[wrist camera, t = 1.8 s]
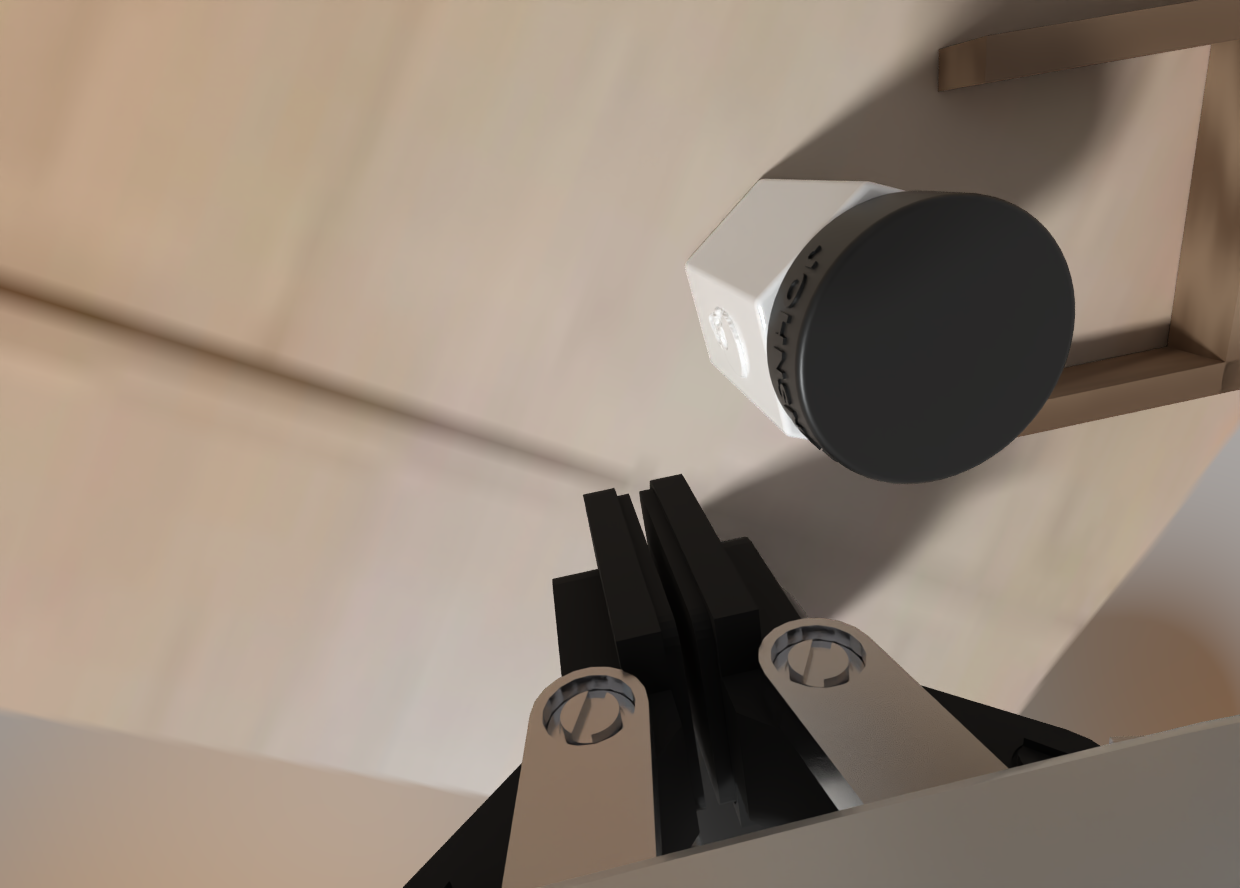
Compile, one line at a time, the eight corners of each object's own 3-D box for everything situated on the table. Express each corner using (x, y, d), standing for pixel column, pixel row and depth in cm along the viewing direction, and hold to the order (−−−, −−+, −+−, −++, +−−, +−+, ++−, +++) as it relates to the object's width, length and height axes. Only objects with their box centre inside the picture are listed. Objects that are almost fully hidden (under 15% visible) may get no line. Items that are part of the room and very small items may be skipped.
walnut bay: (938, 49, 27) (986, 35, 25) (1251, -3, 28) (1331, -23, 26) (933, 424, 33) (971, 446, 31) (1190, 369, 34) (1249, 387, 32)
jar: (663, 211, 28) (761, 237, 17) (852, 146, 28) (1071, 130, 17) (717, 409, 32) (828, 537, 21) (885, 350, 32) (1085, 445, 21)
